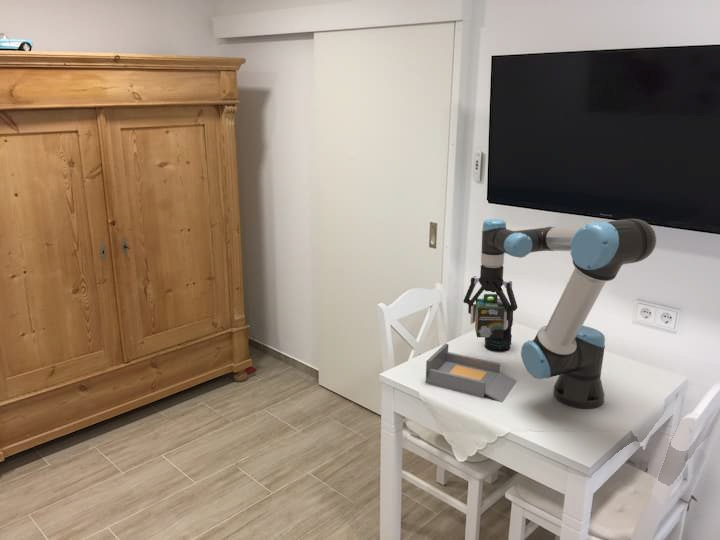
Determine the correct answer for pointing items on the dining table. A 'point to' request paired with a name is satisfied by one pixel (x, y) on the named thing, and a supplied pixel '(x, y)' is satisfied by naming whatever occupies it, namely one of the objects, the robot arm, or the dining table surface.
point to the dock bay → (467, 374)
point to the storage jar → (501, 339)
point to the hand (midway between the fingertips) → (488, 325)
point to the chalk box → (489, 317)
